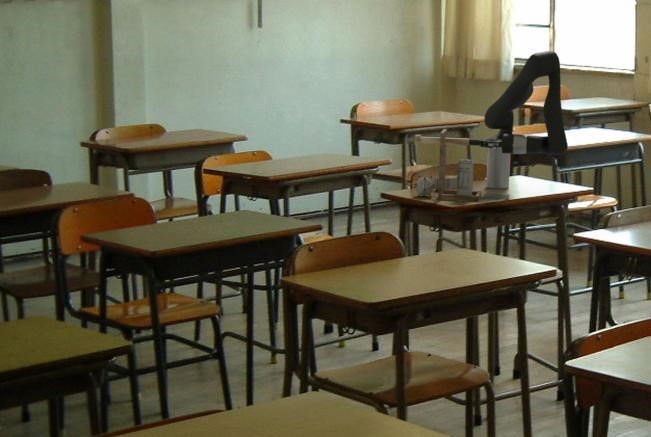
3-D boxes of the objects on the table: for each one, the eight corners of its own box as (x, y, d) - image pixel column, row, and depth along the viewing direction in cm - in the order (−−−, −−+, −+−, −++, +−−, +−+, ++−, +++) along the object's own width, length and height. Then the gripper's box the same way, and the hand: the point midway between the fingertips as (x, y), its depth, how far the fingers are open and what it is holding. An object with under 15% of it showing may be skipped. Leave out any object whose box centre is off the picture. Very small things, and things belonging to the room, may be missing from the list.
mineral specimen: (456, 187, 501) (456, 172, 500) (464, 190, 495) (465, 175, 494) (428, 189, 496) (429, 174, 495) (437, 192, 490) (437, 176, 489)
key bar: (415, 143, 478) (416, 134, 477) (469, 146, 474) (469, 136, 473) (414, 145, 473) (414, 135, 473) (468, 147, 469) (469, 138, 469)
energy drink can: (475, 198, 476) (476, 160, 473) (466, 200, 471) (467, 161, 469) (462, 196, 480) (464, 158, 477) (453, 198, 475) (454, 159, 472)
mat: (484, 194, 485) (484, 193, 485) (509, 195, 483) (509, 194, 483) (482, 198, 475) (482, 197, 475) (508, 199, 473) (508, 198, 473)
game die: (427, 205, 481) (441, 184, 482) (427, 200, 472) (441, 179, 473) (408, 192, 482) (422, 172, 483) (407, 188, 474) (422, 167, 475)
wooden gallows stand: (441, 194, 483) (443, 128, 479) (480, 196, 481) (483, 130, 476) (438, 199, 471) (440, 132, 466) (478, 201, 468) (481, 134, 463)
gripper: (515, 132, 474) (470, 130, 477) (514, 136, 461) (468, 134, 464) (514, 151, 475) (470, 149, 478) (513, 155, 462) (467, 153, 466)
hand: (469, 142), depth 471 cm, fingers closed
